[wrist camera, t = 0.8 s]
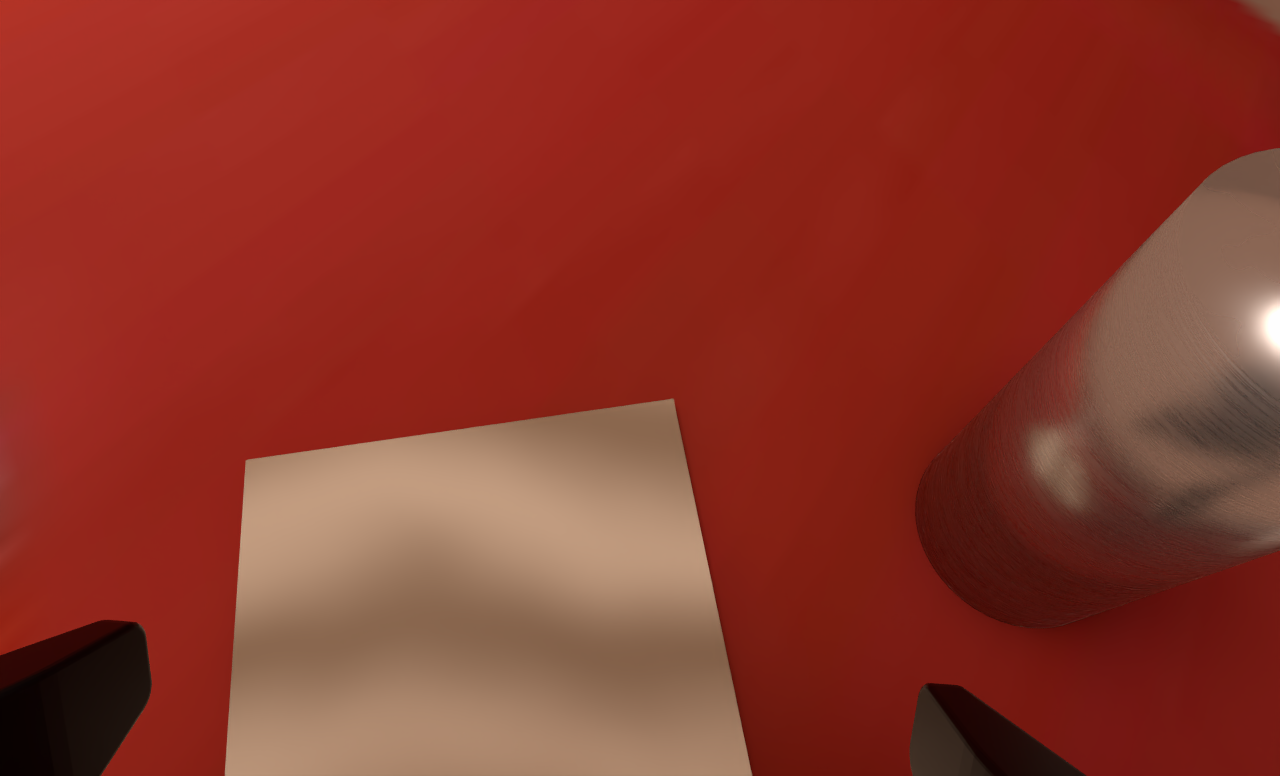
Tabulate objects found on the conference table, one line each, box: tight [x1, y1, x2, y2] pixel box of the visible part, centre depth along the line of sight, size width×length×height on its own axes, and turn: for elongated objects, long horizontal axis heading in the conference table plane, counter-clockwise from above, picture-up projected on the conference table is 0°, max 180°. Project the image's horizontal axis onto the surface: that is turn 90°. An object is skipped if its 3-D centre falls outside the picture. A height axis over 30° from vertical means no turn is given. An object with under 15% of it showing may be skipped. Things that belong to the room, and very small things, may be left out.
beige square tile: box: [225, 399, 752, 776], centre depth 21 cm, size 13×13×1 cm
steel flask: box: [916, 148, 1280, 628], centre depth 18 cm, size 6×6×12 cm
